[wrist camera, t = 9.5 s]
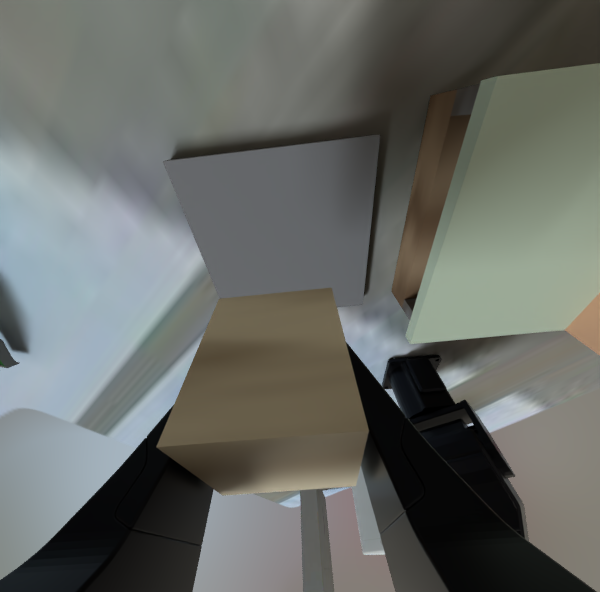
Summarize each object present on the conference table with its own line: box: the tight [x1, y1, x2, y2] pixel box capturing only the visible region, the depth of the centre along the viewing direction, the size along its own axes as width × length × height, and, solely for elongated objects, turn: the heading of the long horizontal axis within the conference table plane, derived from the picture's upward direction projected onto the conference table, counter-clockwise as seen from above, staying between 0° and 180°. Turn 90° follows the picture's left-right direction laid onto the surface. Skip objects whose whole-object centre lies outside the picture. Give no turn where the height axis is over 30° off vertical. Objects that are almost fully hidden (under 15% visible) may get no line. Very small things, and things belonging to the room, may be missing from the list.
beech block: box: [157, 288, 369, 495], centre depth 8 cm, size 4×4×5 cm
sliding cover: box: [406, 63, 600, 355], centre depth 11 cm, size 14×12×3 cm
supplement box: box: [352, 466, 385, 555], centre depth 39 cm, size 9×9×15 cm
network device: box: [300, 488, 334, 592], centre depth 53 cm, size 26×9×20 cm, turn 10°
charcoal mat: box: [163, 135, 380, 307], centre depth 17 cm, size 13×13×1 cm
